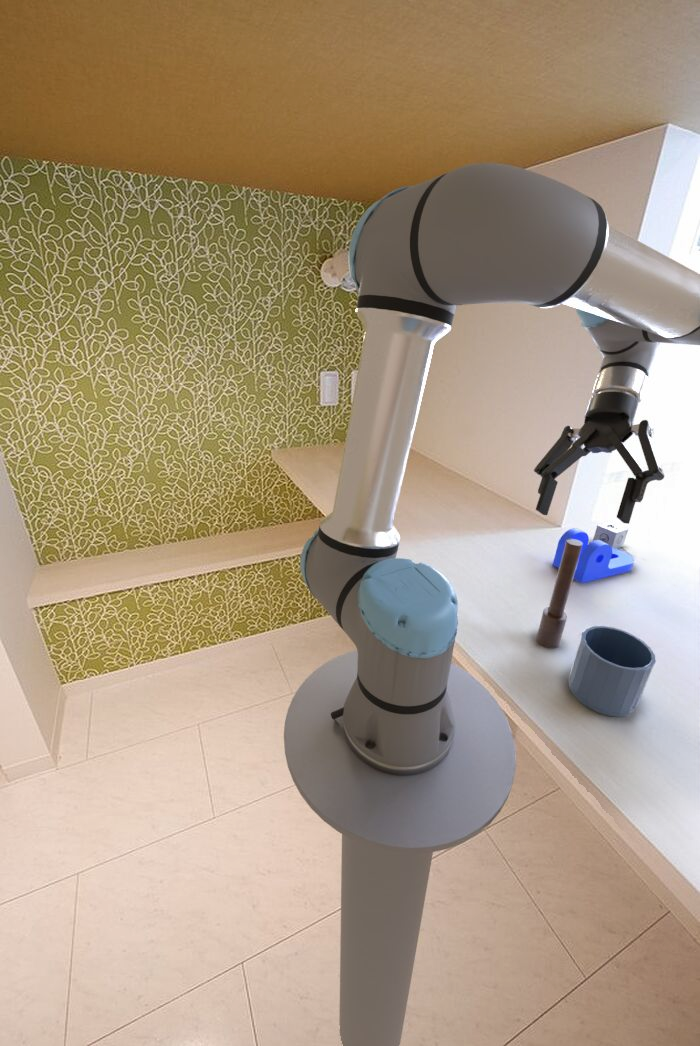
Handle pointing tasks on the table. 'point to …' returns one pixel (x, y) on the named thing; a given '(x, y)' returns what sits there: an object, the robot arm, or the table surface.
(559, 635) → the muddler
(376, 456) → the robot arm
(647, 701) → the table surface
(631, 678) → the blue faceted pencil cup
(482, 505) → the table surface
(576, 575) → the bracket
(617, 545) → the dice cube
